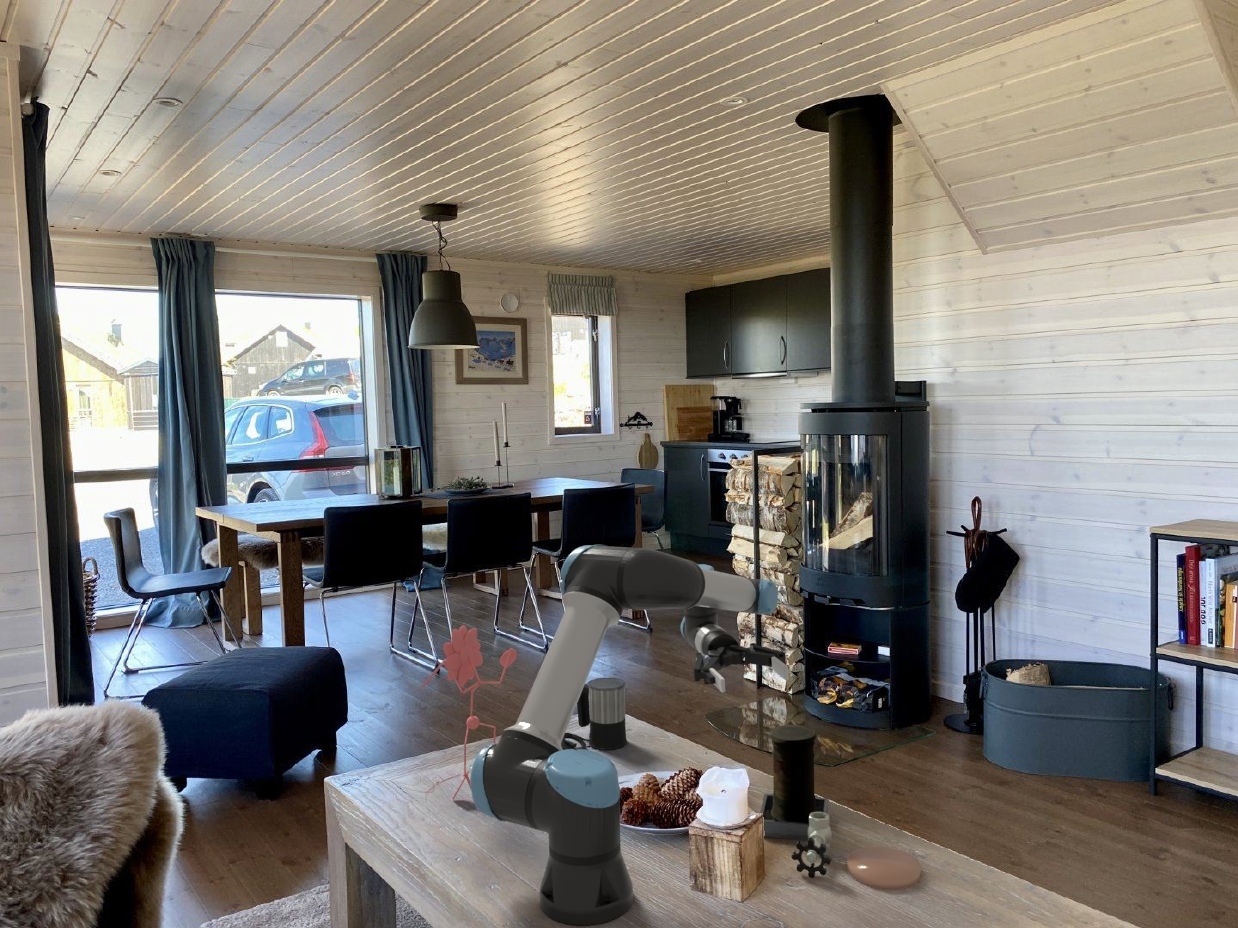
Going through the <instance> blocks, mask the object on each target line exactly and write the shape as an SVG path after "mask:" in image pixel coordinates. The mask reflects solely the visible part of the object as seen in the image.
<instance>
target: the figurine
mask: <svg viewBox="0 0 1238 928" xmlns="http://www.w3.org/2000/svg"><path fill="white" fill-rule="evenodd" d="M477 639H478V629H477V628H476V627H472V628H471V629H469V630H468V629H467V626H466V625H465V624H462V625H461V626H460V627H459V629H458V628H454V629H453V630H452V632H451V639H450V640H451V641H450V642H448V641H447V642H444V644H443V652H444V655H445V657H446V658H445V659H443V660H442V661H441V663H440V664H439V665H438V666H437V667H436V668H435V670H433V672H432V673H431V674H430V676H429V677H428V678H427V679H426V680H425V682H424V683H423V684H422V685H421V687H420V688H419V689H418V690H419V691H421V690H422V689H423V688H424V687H425V686H426V685H427V684H428V682H430V681H431V679H432V678H433V677H434V676H435V675H436V674H437V672H438V671H439V670H440V669H441V668H442V666H443V665H444V667H445V668H446V669H447V671H448V672H447V673H446V674H447V675H446V680H447V681H449V682H451V681H454V683H455V684H456V686H457V687H458V689H459V691H460V693H461V695H464V694H467V692H469V691H470V712H469V713H470V714H469V715H470V716H469V717H468V718H467V720H466V722H465V723H466V732H465V733H466V734H465V739H464V745H463V755H464V756H463V771H464V772H463V774H457V775H454V776H450V777H448V778H446V779H443V780H441V781H437V782H435V783H434V785H433V786H432V787H431V789H432V788H434V787H435V786H436V785H439V784H440V783H442V782H444V781H447V780H450V779H452V778H455V777H459V776H463V779H462V781H461V783H460V785H458V786H459V787H458V788H457V790H456V791H455V793H454V795H453V797H452V800H455V798H456V797H457V794H458V793H459V791H460V790H461V787H462V785H464V784H463V783H464V782H465V781H466V782H467V784H468V786H469V789H470V791H471V792H472V790H471V788H470V778H469V773H470V770H467V765H466V764H467V740H468V736H469V729H470V730H476V729H477V728H479V725H480V726H484V727H487V728H493V744H494V743H495V744H496V736H497V735H496V734H497V733H496V731H497V730H496V729H497V728H496V726H494V725H490V724H486V723H483V722H480V719H479V717H477V716H476V715H473V709H474V692H475V691H476V690H477V689H478V688H479V686H482V685H502V684H501V683H503V680H504V676H505V674H506V671H507V668H508V667H510V666H511V665H512V664H513V663H514V662H515V661H516V660H517V658H518V653H517V651H516V649H514V648H512V647H510V648H509V649H508V650H506V651H504V653H503V654H502V655H501V657H500V659H499V663H500V665H501V666H502V667H503V670H502V674H501V676H500V679H499V681H484V680H481V678H480V676H479V673H478V671H477V668H476V667H480V666H482V665H483V663H484V659H483V654H482V653H481V652H480V649H481V647H482V646H481V645H482V644H481V643H480V642H479V641H478V640H477ZM474 677H475V678H476V680H477V682H474V683H473V684H472V685H470V686H469V687H467V688H465V689H464V690H463V688H462V687H463V686H465V685H466V683H467V681H468V680H470V681H471V680H473V679H474ZM428 792H430V790H428V791H427V793H425V796H427V795H428ZM426 802H427V800H426Z"/></svg>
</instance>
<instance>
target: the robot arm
mask: <svg viewBox="0 0 1238 928" xmlns="http://www.w3.org/2000/svg"><path fill="white" fill-rule="evenodd" d="M559 577H560V578H561V580H559V588H560V593H561V595H562V598H561V601H562V604H563V606H564V608H565V611H564V613H563V615H562V617H561V620H560V622H559V625H558V627H557V629H556V631H555V634H554V637H553V638H552V641H551V642H550V645H549V648H548V650H547V652H546V654H545V657H544V659H543V661H542V664H541V667H540V668H539V670H538V673H537V675H536V678H535V679H534V682H533V685H532V687H530V691H529V692H528V696H527V698H526V700H525V703H524V705H523V707H522V709H521V711H520V714H519V716H518V718H517V720H516V722H515V724H514V725H512V726H509V727H506V728H504V729H503V731H502V733H501V736H500V737H499V740H498V742H497V743H496V742H495V743H494V742H493V743H492V744H488V745H486V746H485V747H484V748H481V750H480V751H479V752H478V754H477V755H476V757H475V759H474V761H473V764H472V767H471V770H470V778H469V780H470V787H469V789H470V788H471V789H470V791H471V790H472V791H471V797H472V801H473V803H474V805H475V806H476V808H477V809H478V810H479V811H480V812H481V813H482V814H484V815H485V816H488V817H491V818H494V819H496V820H497V821H500V822H508V823H512V824H515V825H519V826H522V827H526V828H531V829H534V830H537V831H541V832H545V833H547V834H548V850H549V851H548V854H549V855H548V860H547V862H546V866H545V869H544V873H543V877H542V879H541V883H540V887H539V905H540V908H541V910H542V912H543V913H544V914H545V915H546V916H548V917H549V918H551V919H553V920H554V921H557V922H559V923H562V924H563V923H564V924H567V925H574V926H575V925H576V926H588V925H589V926H590V925H598V924H602V923H605V922H607V923H608V922H609V921H614V919H617V918H619V917H621V916H622V915H624V914H625V913H626V912H627V911H628V910H630V908H631V906H632V905H633V902H634V888H633V887H634V886H633V882H632V878H631V876H630V873H629V870H628V868H627V865H626V861H625V859H624V856H623V855H622V845H621V810H620V809H621V808H620V807H621V804H620V801H621V800H620V798H621V797H620V796H621V787H620V784H619V773H618V770H617V768H616V765H615V764H614V762H613V761H612V760H611V759H610V758H609V757H607V756H606V755H604V754H602V753H600V752H597V751H593V750H591V749H586V750H585V749H580V748H578V749H579V750H574V749H566V750H563V749H562V747H561V742H562V739H563V737H564V734H565V733H567V729H568V727H569V724H570V722H571V719H572V717H573V715H574V712H575V709H576V708H577V702H578V700H579V697H580V695H581V692H582V690H583V687H584V685H585V684H586V682H587V680H588V677H589V675H590V672H591V670H592V668H593V664H594V662H595V660H596V658H597V655H598V652H599V650H600V647H601V645H602V643H603V640H604V638H605V636H606V632H607V631H608V628H611V627H614V626H617V624H618V623H619V622H620V620H621V617H622V615H623V612H624V610H627V609H628V610H635V611H655V610H656V611H657V610H672V609H673V610H675V609H676V610H684V616H683V618H682V621H681V623H680V632H681V635H682V637H683V638H684V640H685V642H686V643H688V645H689V646H691V647H692V648H693V649H694V650H695V651H697V653H695V663H694V666H693V680H694V682H700V681H701V680H703V685H714V686H715V687H716V689H718V691H719V692H721V693H726V680H725V678H724V677H723V676H722V675H721V674H720V673H719V672H718V671H721V670H722V669H725V668H728V667H730V666H731V665H736V666H737V665H743V666H748V665H750V664H751V665H756V666H763V667H770V668H771V670H772V671H773V672H775V673H776V674H777V675H779V676H780V677H781V678H782V679H783V680H785V681H789V680H790V676H789V675H790V674H789V666H788V665H787V656H786V652H785V651H780V650H777V649H774V648H770V647H766V646H762V645H759V644H757V643H756V642H751V643H749V647H744V646H742V645H740V644H739V643H738V641H737V640H736V638H735V637H734V636H732V635H731V634H730V633H729V632H728V631H726V630H725V629H724V628H722V627H721V626H720V625H719V619H718V611H726V612H738V613H743V614H744V613H745V614H753V615H759V616H760V615H768V616H769V615H771V614H773V613H774V612H775V611H776V608H777V605H778V601H779V590H778V587H777V585H776V583H775V582H774V581H772V580H767V579H762V578H760V579H757V578H751V577H750V578H749V577H744V576H740V575H737V574H731V573H726V572H722V571H721V572H720V571H718V570H715V568H714V567H713V566H711V565H708V564H704V563H702V564H701V563H700V564H699V563H696V562H695V561H693V560H690V559H686V558H682V557H679V556H677V555H674V554H669V553H666V552H663V551H659V550H656V549H651V548H644V547H641V548H640V547H624V546H608V545H605V544H593V545H589V544H588V545H582V546H579V547H577V548H575V549H573V550H572V551H571V553H570V554H568V556H567V557H566V558H565V561H564V562H563V564H562V567H561V570H560V575H559ZM707 662H708V663H707Z"/></svg>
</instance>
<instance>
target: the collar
mask: <svg viewBox="0 0 1238 928" xmlns="http://www.w3.org/2000/svg"><path fill="white" fill-rule="evenodd" d="M772 796H773V793H772V794H771V793H764V794H763V799H762V803H761V807H760V812H759V814H760V813H763V817H764V831H765V837H764V838H772V839H774V838H775V839H783V840H785V839H786V840H796V841H807V842H808V839H809V838H808V828H809V823H799V822H787V821H774V820H771V819H767V815H768V811H771V810H772V807H773V797H772ZM815 798H816V800H815V809H816V811H817V812H824V813H826V814H828V815H829V798H825V797H815Z"/></svg>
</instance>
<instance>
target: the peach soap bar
mask: <svg viewBox="0 0 1238 928" xmlns="http://www.w3.org/2000/svg"><path fill="white" fill-rule="evenodd" d="M846 860H847V861H846V863H847V872H848V874H849V875H850V876H851V877H852V878H853V879H854V880H855V879H856V881H857V882H859V883H861V884H863V885H865V886H868V887H871V888H876V889H883V890H903V889H906V888H910V887H913V886H915V885H916V884H918V882H920V880H921V878H922V872H921V871H922V865H921V863H920V861H919V860H918V859H917V857H915V856H914V855H913V854H911V853H909V852H907V851H905V850H902V849H898V848H895V847H892V846H891V847H890V846H882V845H872V846H871V845H869V846H863V847H860V848H856V849H855V850H852V851H851V852H850V853H849V854H848V856H847V858H846ZM912 885H913V886H912Z"/></svg>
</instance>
